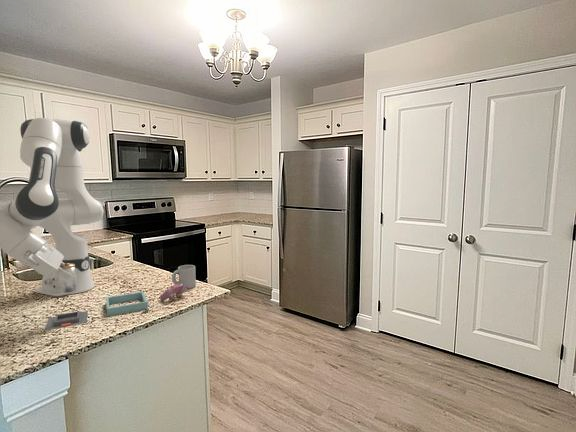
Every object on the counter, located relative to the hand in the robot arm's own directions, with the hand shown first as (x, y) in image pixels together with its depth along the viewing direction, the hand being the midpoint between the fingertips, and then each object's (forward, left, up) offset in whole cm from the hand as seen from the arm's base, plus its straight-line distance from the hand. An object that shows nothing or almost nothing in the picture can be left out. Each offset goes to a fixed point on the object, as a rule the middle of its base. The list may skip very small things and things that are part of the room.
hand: (70, 275), depth 103 cm
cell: (0, 0, -5) cm, 5 cm away
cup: (+17, +41, -16) cm, 47 cm away
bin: (+10, +13, -16) cm, 23 cm away
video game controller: (+20, +27, -16) cm, 38 cm away
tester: (-1, -1, -16) cm, 16 cm away
